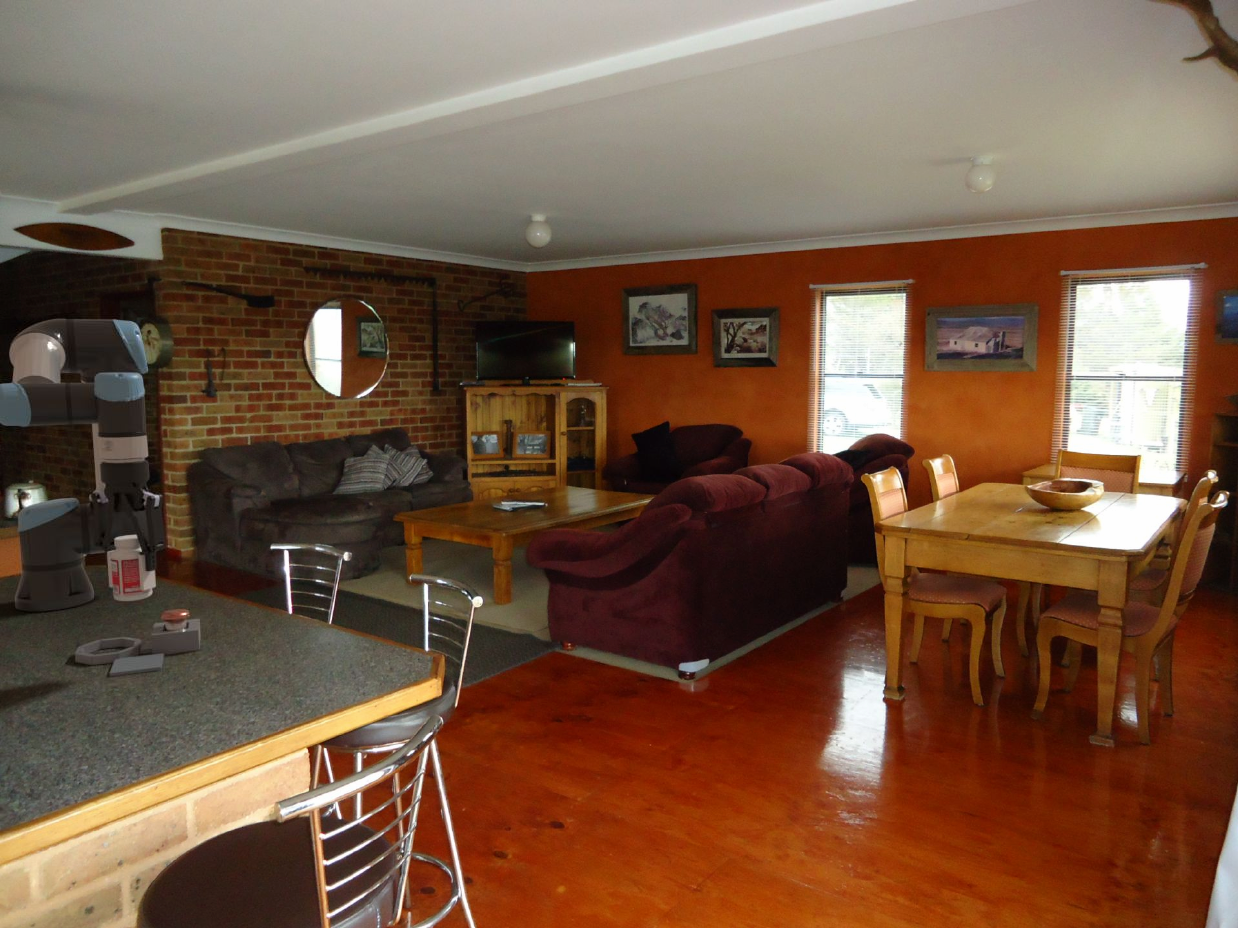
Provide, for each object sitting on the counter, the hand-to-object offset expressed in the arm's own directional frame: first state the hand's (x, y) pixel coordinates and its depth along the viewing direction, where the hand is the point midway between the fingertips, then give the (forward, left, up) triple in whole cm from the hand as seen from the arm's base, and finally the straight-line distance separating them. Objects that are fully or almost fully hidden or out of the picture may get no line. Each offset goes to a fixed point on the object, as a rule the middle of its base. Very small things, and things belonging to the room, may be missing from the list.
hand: (132, 586), depth 156 cm
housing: (-9, 0, -15) cm, 17 cm away
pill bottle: (0, 0, -2) cm, 2 cm away
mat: (0, 0, -15) cm, 15 cm away
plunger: (-9, +6, -14) cm, 18 cm away
